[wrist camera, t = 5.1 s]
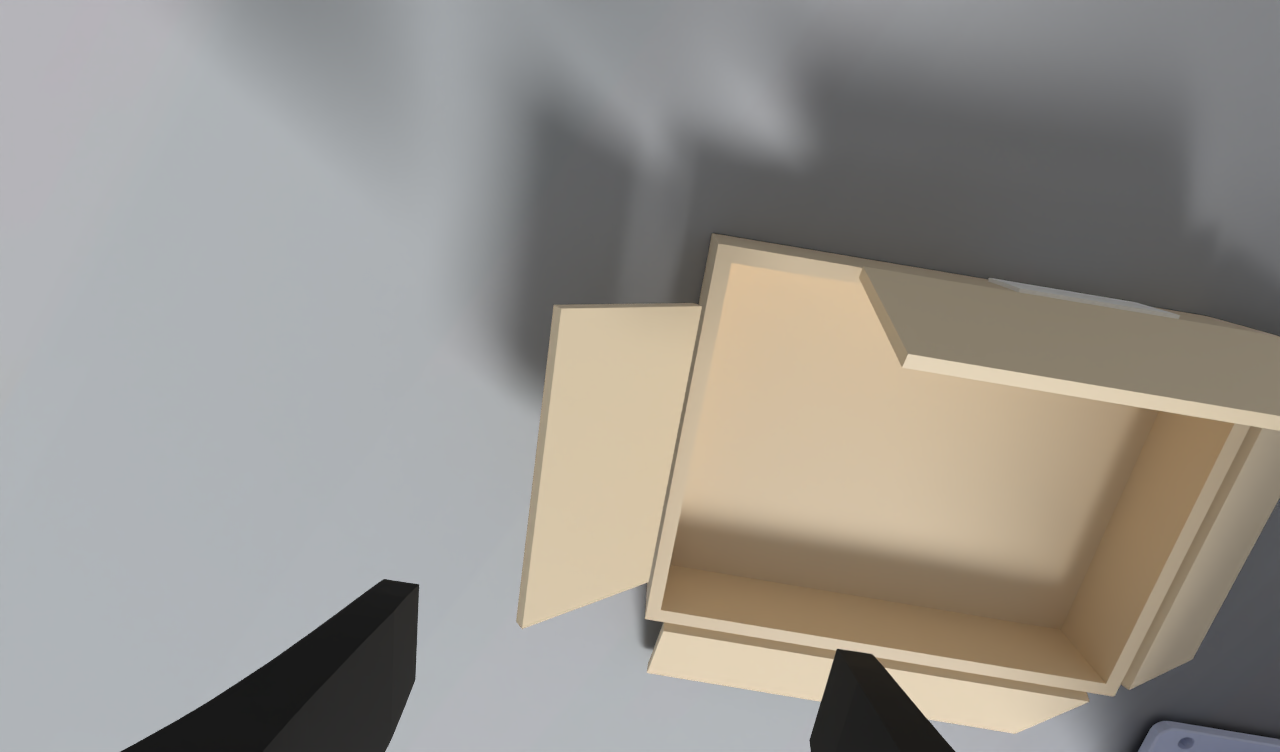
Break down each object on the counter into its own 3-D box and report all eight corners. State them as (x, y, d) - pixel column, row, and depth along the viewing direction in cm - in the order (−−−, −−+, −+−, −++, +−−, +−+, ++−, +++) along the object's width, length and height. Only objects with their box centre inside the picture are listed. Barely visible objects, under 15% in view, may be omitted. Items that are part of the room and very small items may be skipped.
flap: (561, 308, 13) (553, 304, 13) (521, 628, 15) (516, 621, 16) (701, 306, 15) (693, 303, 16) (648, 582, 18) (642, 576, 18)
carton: (1342, 335, 18) (1451, 362, 15) (1129, 740, 22) (1186, 811, 20) (712, 229, 18) (719, 239, 15) (630, 657, 22) (625, 718, 20)
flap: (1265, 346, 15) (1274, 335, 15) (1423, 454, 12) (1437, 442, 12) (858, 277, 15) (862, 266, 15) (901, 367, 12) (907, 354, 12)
